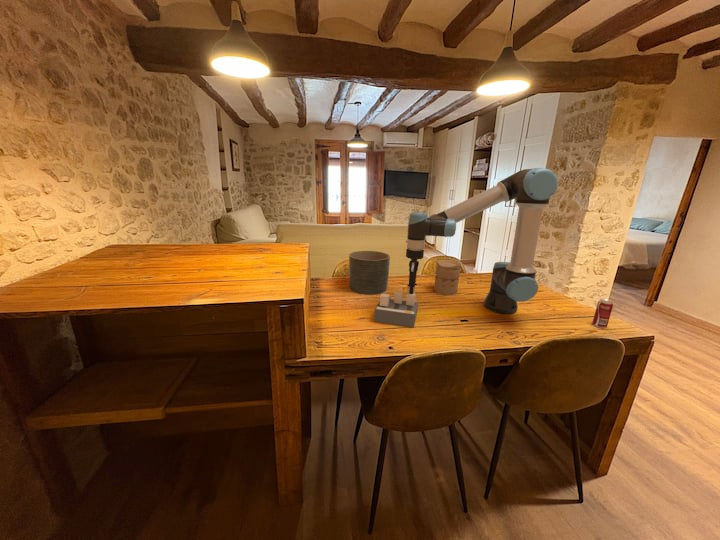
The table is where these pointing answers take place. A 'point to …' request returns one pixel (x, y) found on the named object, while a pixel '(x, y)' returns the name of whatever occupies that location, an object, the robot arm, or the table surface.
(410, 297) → the slider right
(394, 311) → the switch bank
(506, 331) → the table surface
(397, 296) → the slider mid
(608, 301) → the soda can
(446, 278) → the container
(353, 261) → the planter
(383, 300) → the block
